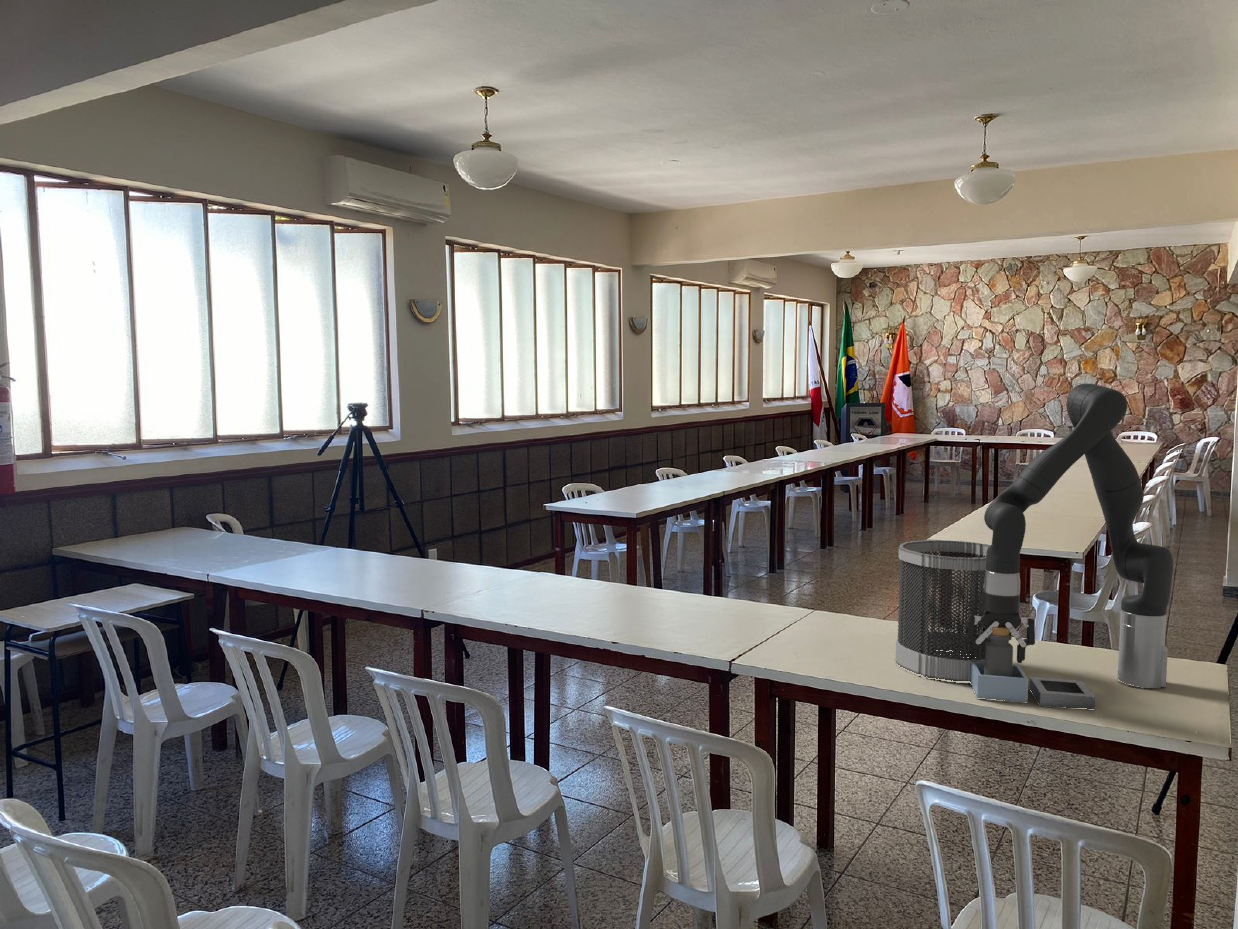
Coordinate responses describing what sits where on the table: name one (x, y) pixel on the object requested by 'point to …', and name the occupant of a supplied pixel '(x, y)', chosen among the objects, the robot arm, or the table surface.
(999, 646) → the bottle
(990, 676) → the bin
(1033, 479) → the robot arm
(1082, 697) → the collar
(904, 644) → the wastebasket
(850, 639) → the table surface
